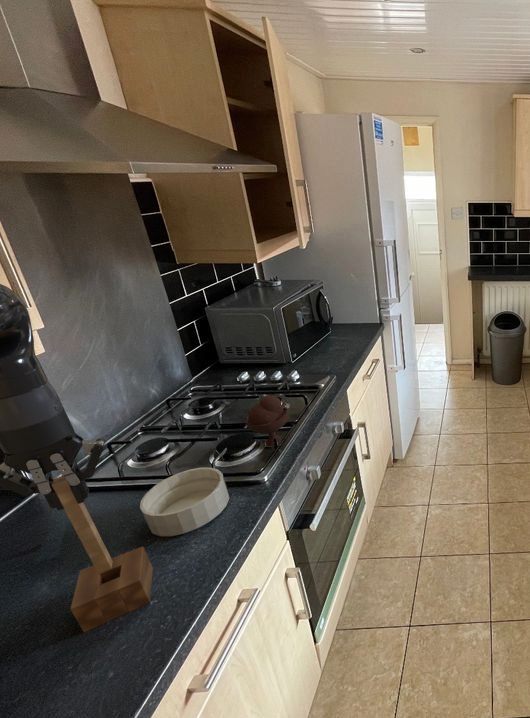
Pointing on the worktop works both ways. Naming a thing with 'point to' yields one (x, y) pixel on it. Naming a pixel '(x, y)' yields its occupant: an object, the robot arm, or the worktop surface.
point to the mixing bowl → (184, 501)
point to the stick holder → (112, 589)
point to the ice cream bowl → (267, 418)
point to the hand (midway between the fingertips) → (72, 503)
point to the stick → (83, 525)
